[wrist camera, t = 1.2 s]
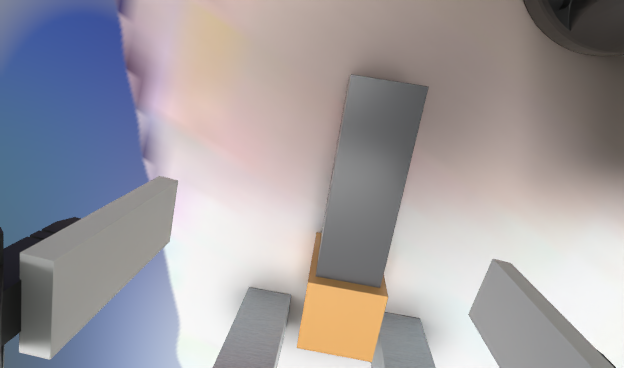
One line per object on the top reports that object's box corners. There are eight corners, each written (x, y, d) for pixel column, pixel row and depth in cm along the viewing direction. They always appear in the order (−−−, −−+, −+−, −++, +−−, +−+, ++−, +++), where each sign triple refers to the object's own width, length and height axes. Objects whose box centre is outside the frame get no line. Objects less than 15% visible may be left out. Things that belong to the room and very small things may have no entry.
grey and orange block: (343, 74, 31) (343, 72, 22) (412, 85, 30) (440, 88, 22) (307, 284, 37) (296, 347, 28) (365, 295, 36) (371, 362, 28)
